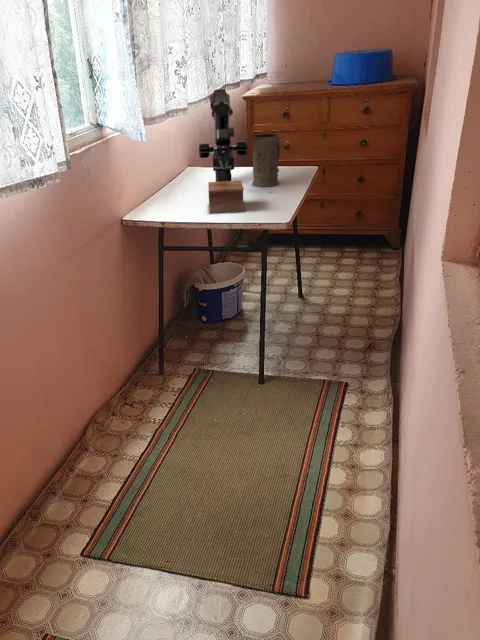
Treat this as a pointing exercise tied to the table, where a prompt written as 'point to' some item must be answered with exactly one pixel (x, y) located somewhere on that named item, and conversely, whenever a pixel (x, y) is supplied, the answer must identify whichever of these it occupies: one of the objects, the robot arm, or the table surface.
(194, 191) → the table surface
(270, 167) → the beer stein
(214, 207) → the walnut box
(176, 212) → the table surface
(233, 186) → the lid
